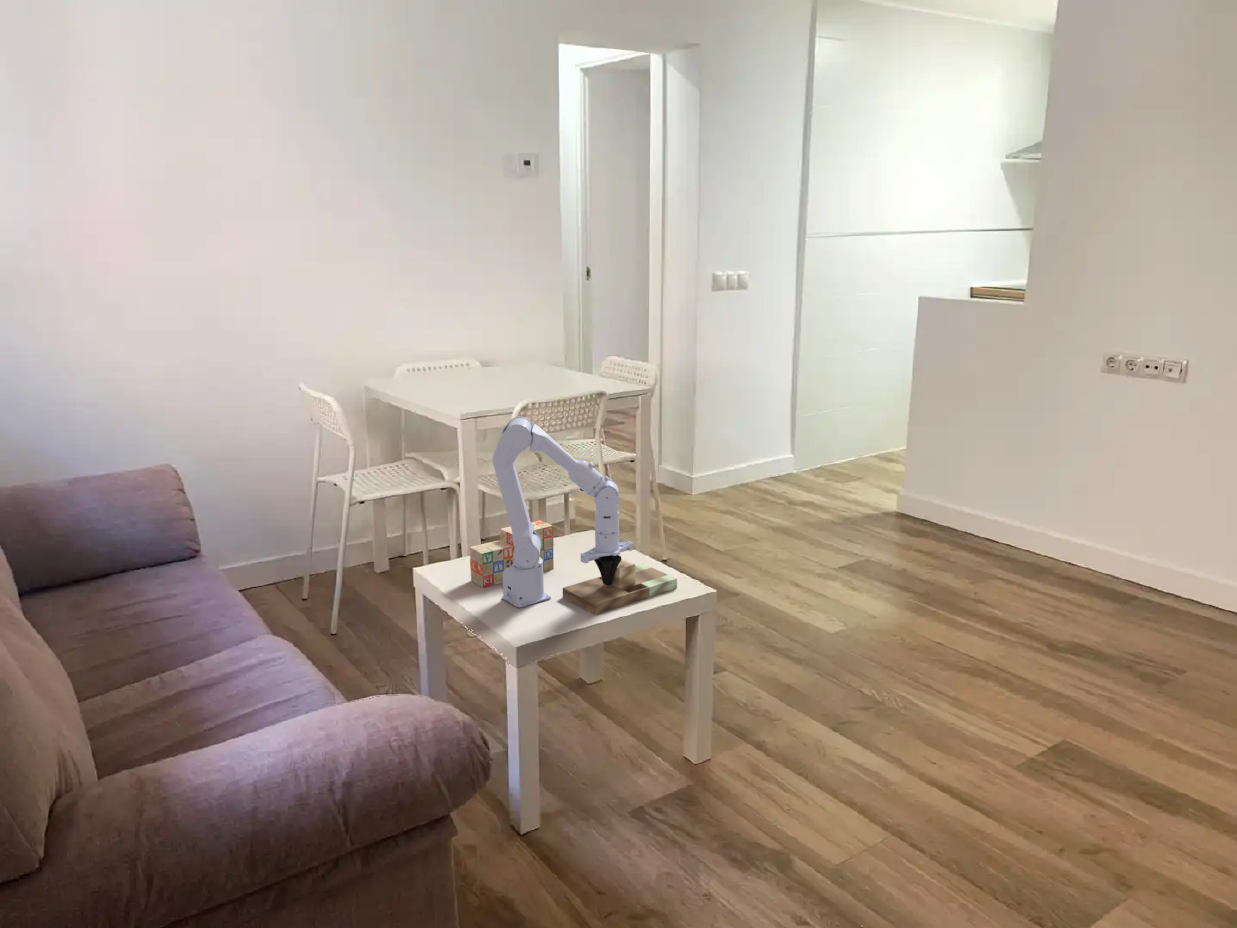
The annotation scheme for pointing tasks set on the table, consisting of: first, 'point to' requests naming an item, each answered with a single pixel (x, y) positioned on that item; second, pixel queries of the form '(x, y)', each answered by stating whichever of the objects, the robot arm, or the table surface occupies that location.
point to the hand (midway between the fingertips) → (607, 583)
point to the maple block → (624, 574)
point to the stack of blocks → (506, 555)
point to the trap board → (619, 590)
